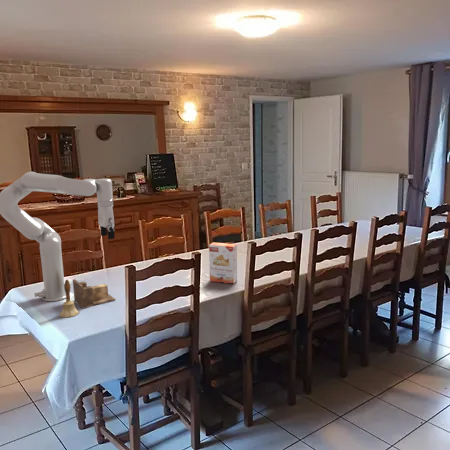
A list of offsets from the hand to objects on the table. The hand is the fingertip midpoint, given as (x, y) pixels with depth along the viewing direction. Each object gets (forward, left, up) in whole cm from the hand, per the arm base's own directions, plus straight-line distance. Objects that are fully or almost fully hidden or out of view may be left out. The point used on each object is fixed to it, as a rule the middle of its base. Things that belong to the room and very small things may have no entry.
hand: (107, 237), depth 229 cm
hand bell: (-27, -18, -29) cm, 43 cm away
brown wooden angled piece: (-12, -9, -28) cm, 32 cm away
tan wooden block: (-12, -9, -28) cm, 31 cm away
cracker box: (+54, -24, -28) cm, 66 cm away
